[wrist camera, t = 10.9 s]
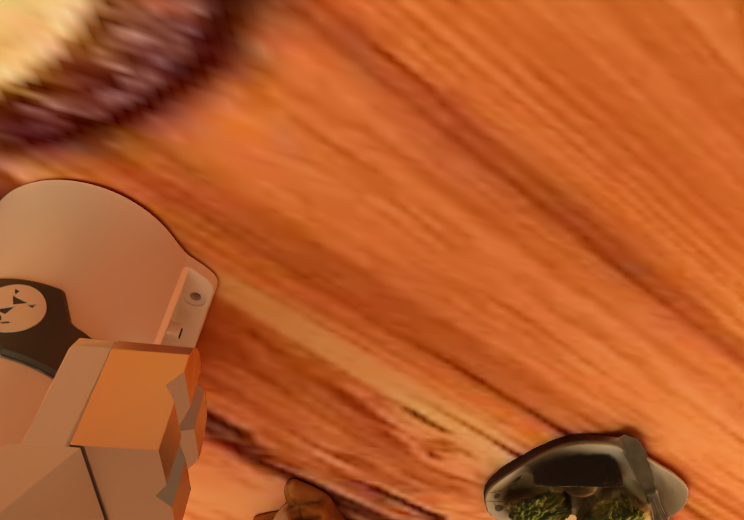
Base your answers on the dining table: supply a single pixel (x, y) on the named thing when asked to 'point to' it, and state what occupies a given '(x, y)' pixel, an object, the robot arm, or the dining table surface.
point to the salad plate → (585, 482)
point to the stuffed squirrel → (304, 504)
